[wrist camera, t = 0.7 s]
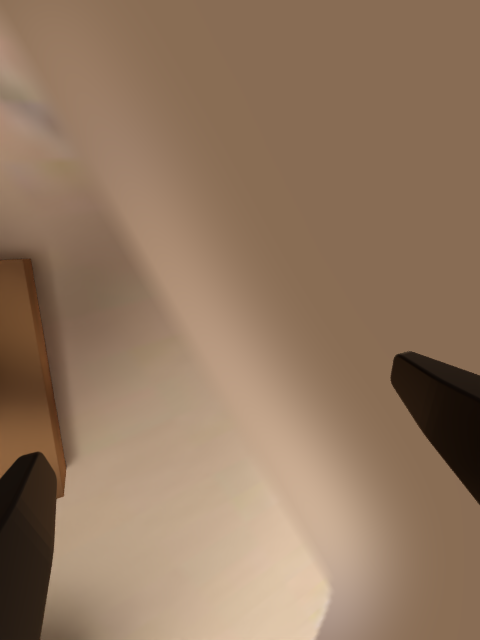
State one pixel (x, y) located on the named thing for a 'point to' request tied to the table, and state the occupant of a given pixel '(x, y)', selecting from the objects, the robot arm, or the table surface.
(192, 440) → the table surface
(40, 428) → the panel
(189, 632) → the table surface
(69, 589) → the table surface
